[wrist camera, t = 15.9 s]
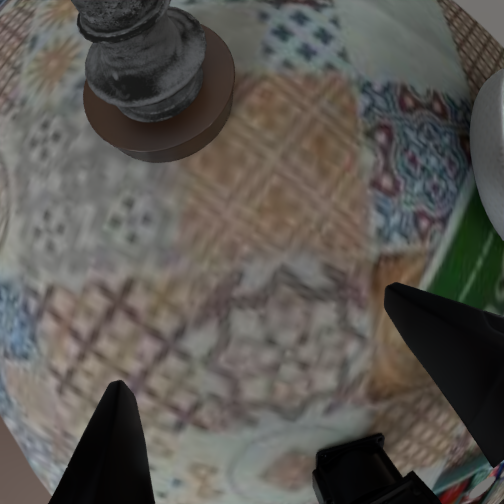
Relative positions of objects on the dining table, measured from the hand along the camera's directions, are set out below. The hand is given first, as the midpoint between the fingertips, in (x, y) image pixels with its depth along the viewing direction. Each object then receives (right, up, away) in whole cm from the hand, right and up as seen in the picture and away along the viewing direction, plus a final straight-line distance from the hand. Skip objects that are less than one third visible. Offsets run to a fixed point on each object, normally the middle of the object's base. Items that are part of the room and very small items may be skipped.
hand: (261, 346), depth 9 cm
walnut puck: (-6, +13, +9) cm, 17 cm away
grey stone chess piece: (-6, +12, +6) cm, 15 cm away
